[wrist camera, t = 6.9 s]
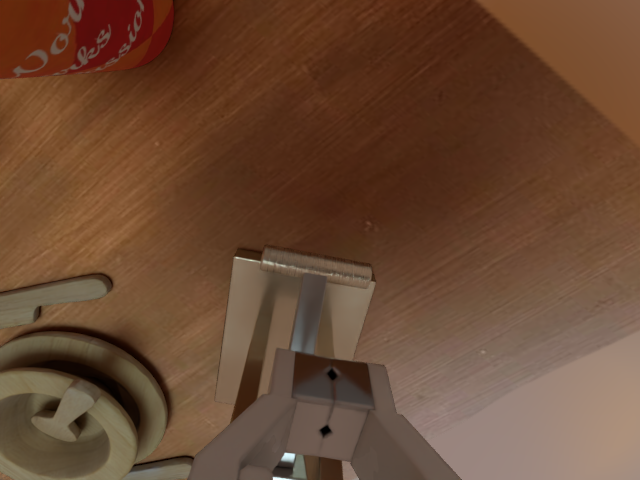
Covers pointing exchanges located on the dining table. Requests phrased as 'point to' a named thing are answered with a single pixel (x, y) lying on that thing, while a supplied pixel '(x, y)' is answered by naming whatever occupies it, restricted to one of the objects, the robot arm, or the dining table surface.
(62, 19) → the coffee cup
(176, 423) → the dining table surface
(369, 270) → the lever
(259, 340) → the metal lever stand
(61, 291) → the tableware set
